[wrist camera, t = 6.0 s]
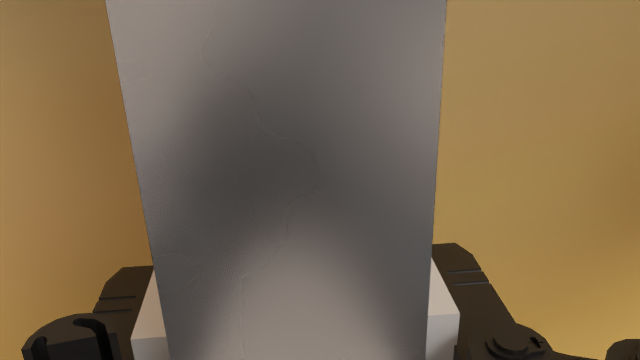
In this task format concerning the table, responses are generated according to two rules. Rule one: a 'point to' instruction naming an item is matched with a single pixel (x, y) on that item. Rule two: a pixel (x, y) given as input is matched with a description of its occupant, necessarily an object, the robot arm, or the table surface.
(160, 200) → the orange-tipped grey stick
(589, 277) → the table surface
